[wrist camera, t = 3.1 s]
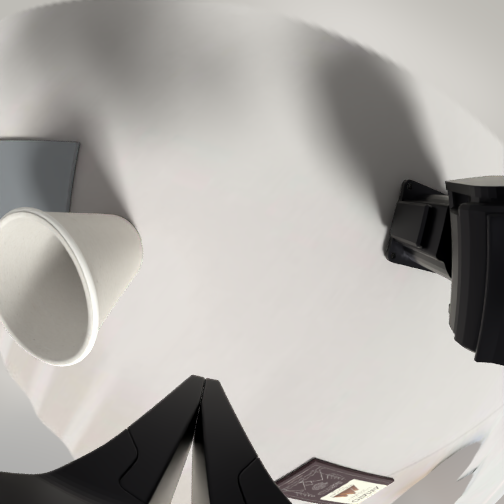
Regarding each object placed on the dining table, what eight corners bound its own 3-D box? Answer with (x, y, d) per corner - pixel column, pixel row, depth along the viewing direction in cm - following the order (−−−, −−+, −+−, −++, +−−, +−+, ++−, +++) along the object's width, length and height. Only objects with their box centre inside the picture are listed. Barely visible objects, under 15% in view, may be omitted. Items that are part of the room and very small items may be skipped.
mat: (79, 142, 18) (76, 142, 18) (67, 324, 22) (64, 326, 21) (-7, 141, 18) (-11, 140, 17) (-13, 287, 21) (-16, 289, 20)
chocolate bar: (315, 461, 25) (394, 481, 28) (314, 455, 26) (392, 476, 29) (265, 491, 27) (350, 507, 29) (264, 486, 28) (349, 503, 30)
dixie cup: (59, 215, 20) (-30, 236, 10) (142, 181, 19) (60, 180, 9) (90, 309, 21) (21, 369, 12) (174, 289, 21) (124, 362, 11)
